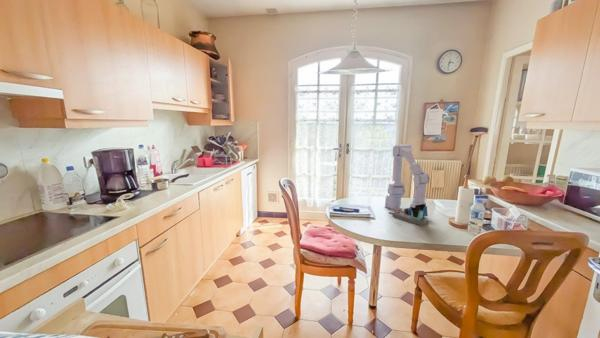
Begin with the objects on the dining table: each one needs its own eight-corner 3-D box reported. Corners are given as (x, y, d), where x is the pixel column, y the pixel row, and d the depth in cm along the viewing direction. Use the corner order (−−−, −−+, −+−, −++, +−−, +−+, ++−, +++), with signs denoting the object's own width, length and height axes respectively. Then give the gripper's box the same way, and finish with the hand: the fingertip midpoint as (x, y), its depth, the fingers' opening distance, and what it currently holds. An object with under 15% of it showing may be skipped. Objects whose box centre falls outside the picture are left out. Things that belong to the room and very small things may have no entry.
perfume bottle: (427, 216, 147) (407, 215, 147) (422, 216, 153) (403, 216, 153) (426, 205, 148) (407, 205, 148) (421, 206, 154) (402, 206, 154)
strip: (386, 214, 155) (386, 210, 154) (391, 212, 159) (392, 207, 158) (422, 227, 138) (422, 221, 137) (427, 223, 143) (427, 218, 142)
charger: (410, 221, 144) (411, 210, 143) (413, 219, 147) (414, 208, 146) (419, 223, 141) (420, 212, 139) (421, 222, 143) (423, 210, 142)
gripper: (421, 198, 133) (418, 221, 136) (431, 193, 142) (429, 214, 145) (408, 195, 138) (406, 217, 141) (419, 190, 147) (417, 211, 150)
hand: (416, 216), depth 143 cm, fingers closed on charger, 4 cm apart
